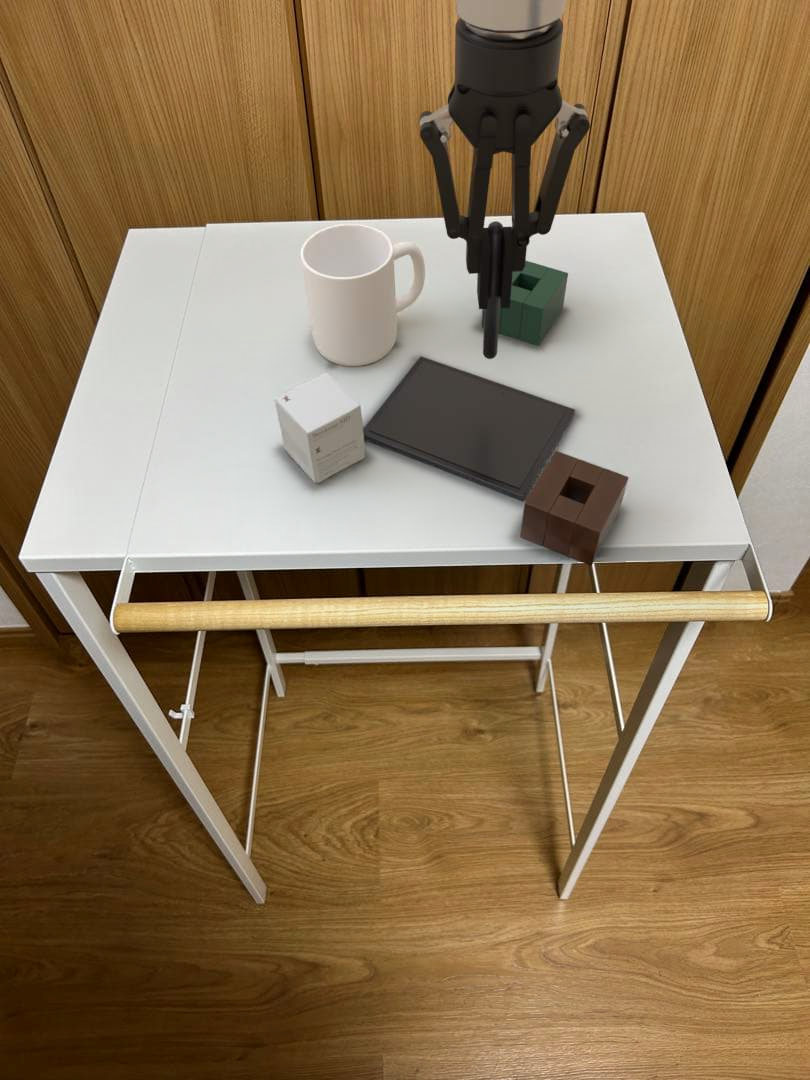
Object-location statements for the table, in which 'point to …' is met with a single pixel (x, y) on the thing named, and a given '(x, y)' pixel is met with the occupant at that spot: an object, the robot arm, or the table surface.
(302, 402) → the product box
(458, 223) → the robot arm
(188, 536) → the table surface
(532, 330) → the stand
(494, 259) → the stylus
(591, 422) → the table surface
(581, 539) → the holder
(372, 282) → the cup
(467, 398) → the tablet
